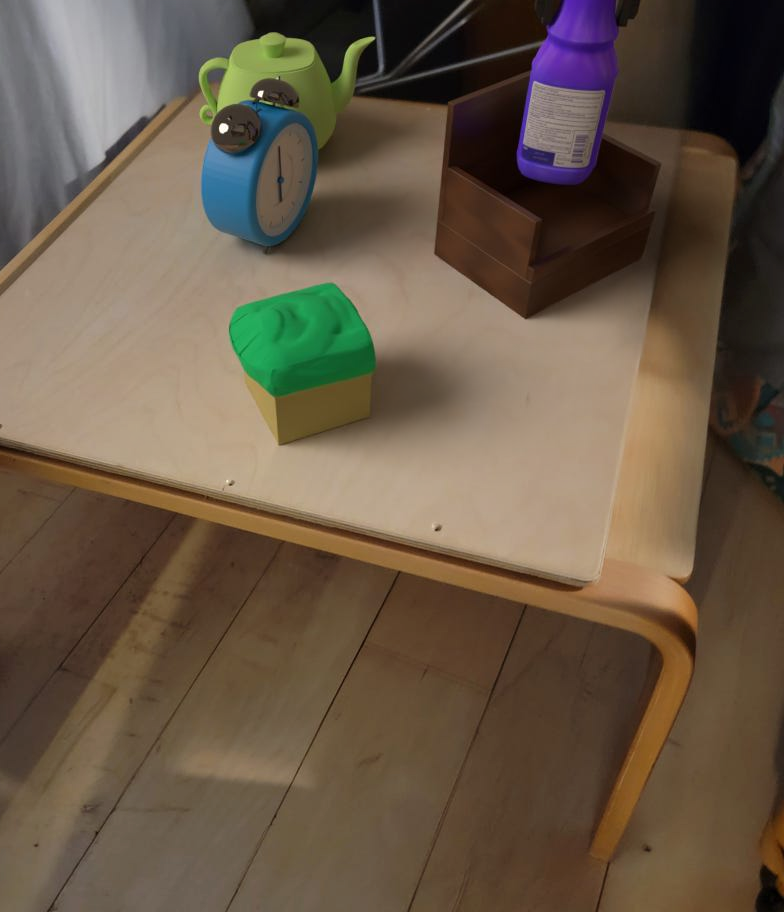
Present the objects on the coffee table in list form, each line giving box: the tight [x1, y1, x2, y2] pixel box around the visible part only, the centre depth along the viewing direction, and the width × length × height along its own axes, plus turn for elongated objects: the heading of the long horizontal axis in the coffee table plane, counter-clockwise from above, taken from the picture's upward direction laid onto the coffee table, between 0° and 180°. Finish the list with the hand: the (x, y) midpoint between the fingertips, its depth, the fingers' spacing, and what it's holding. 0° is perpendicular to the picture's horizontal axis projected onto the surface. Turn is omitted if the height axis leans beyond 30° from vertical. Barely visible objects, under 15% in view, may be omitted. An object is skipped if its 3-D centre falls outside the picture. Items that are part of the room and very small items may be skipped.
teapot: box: [198, 31, 376, 151], centre depth 103 cm, size 16×14×13 cm
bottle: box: [517, 0, 620, 185], centre depth 78 cm, size 7×6×17 cm
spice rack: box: [433, 69, 663, 320], centre depth 85 cm, size 13×16×16 cm
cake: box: [228, 281, 377, 446], centre depth 74 cm, size 10×11×10 cm
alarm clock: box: [200, 75, 319, 255], centre depth 90 cm, size 13×6×15 cm, turn 150°
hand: (583, 21), depth 74 cm, fingers closed on bottle, 5 cm apart
